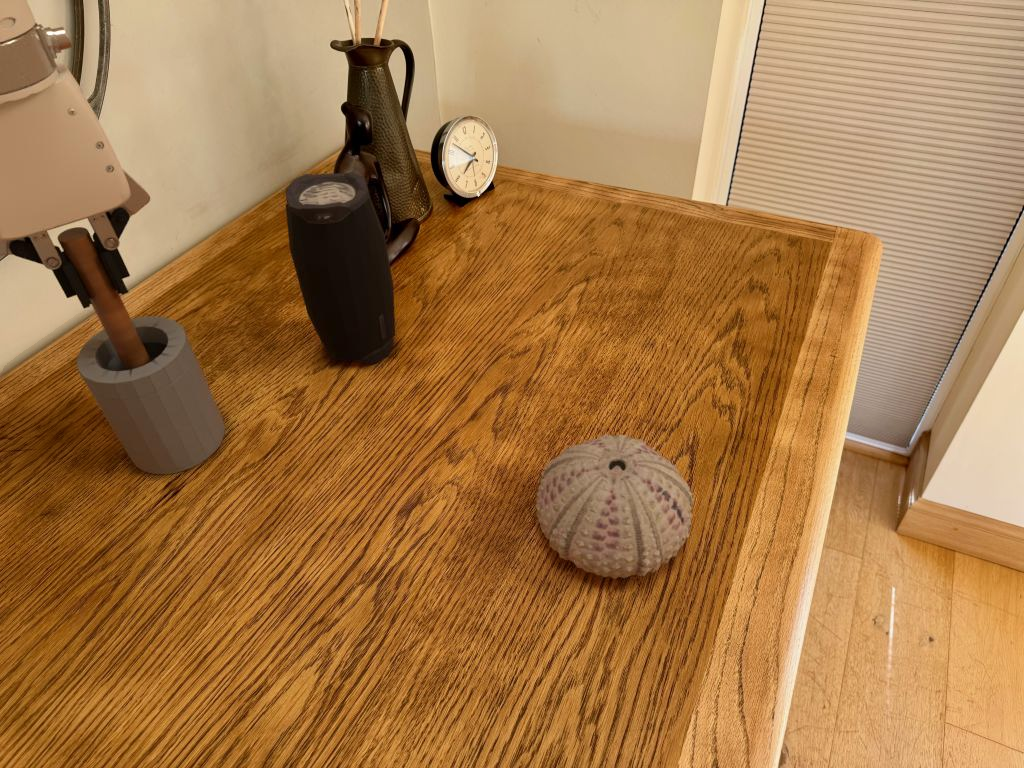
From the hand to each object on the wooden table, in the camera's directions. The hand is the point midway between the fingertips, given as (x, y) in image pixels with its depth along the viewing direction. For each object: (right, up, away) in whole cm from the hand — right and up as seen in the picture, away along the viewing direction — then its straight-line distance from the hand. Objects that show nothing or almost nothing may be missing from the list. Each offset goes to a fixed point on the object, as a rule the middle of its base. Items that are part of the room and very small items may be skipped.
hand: (101, 291), depth 60 cm
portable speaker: (+17, -3, +22) cm, 28 cm away
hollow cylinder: (+1, -13, +12) cm, 18 cm away
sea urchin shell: (+43, -20, +4) cm, 47 cm away
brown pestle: (0, -9, +9) cm, 13 cm away
